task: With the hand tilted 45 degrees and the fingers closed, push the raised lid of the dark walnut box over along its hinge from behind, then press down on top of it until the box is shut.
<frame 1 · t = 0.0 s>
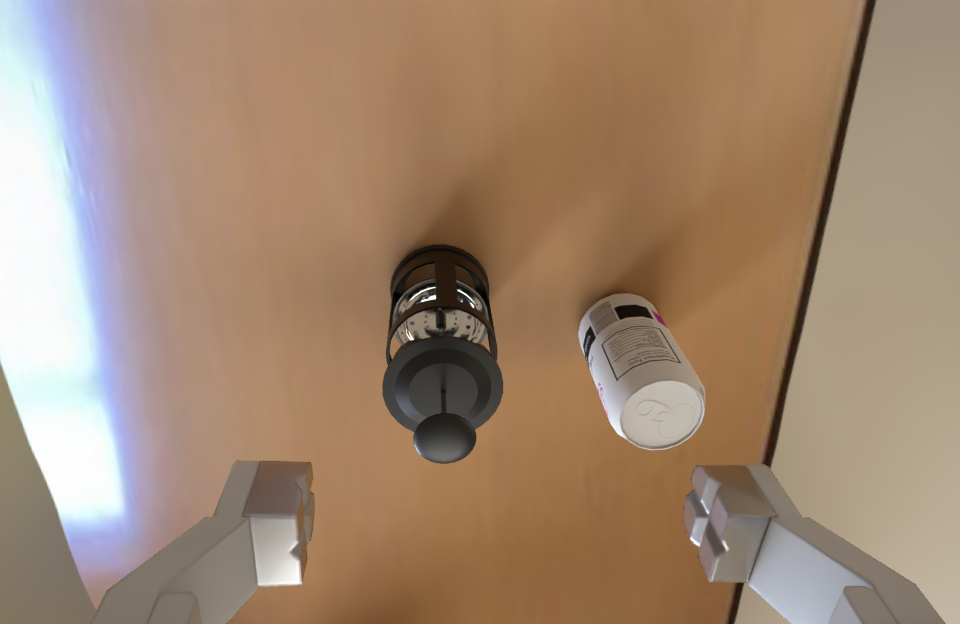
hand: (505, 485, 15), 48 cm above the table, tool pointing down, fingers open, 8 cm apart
supplement can: (617, 325, 69), on the table
french press: (439, 293, 66), on the table
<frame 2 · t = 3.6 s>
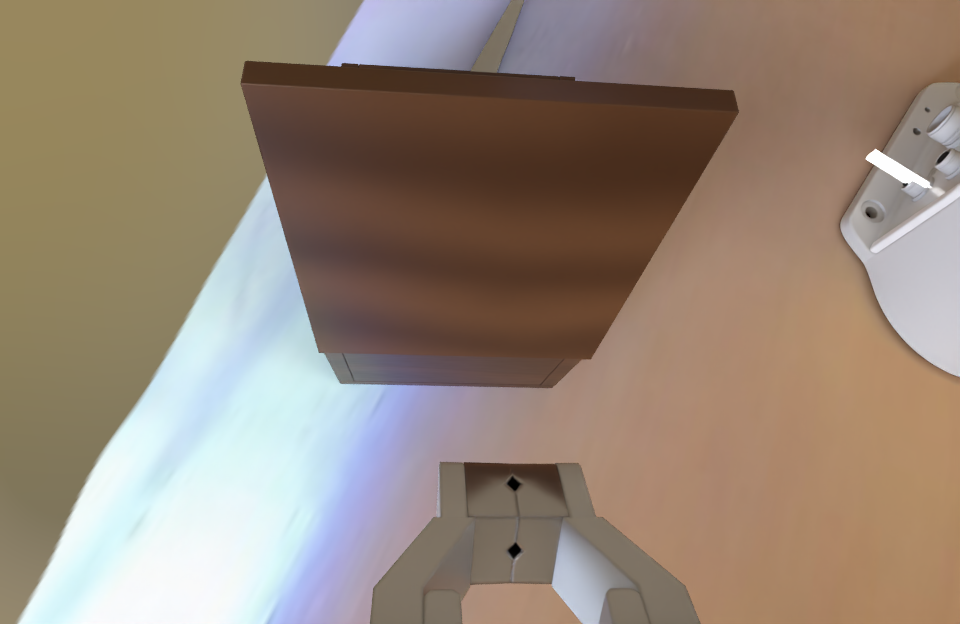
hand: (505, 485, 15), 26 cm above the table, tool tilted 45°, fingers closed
lid: (471, 256, 25), point 18 cm above the table, hinge at 80.0°
box: (449, 263, 44), on the table
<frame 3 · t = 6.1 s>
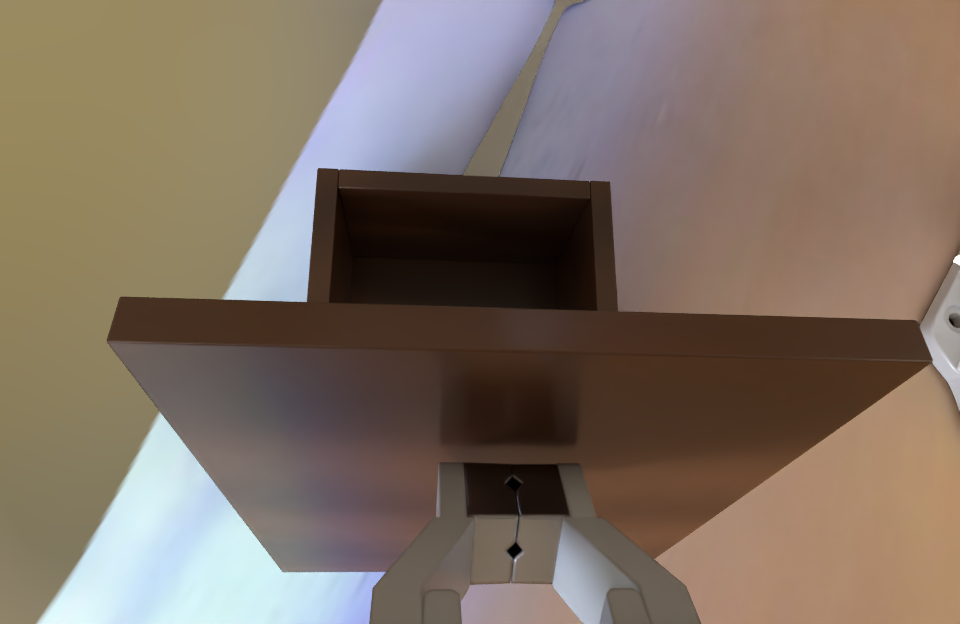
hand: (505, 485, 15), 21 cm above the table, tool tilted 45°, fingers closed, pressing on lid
lid: (487, 490, 18), point 17 cm above the table, hinge at 75.6°, touching gripper
box: (452, 391, 36), on the table
fork: (538, 57, 43), on the table
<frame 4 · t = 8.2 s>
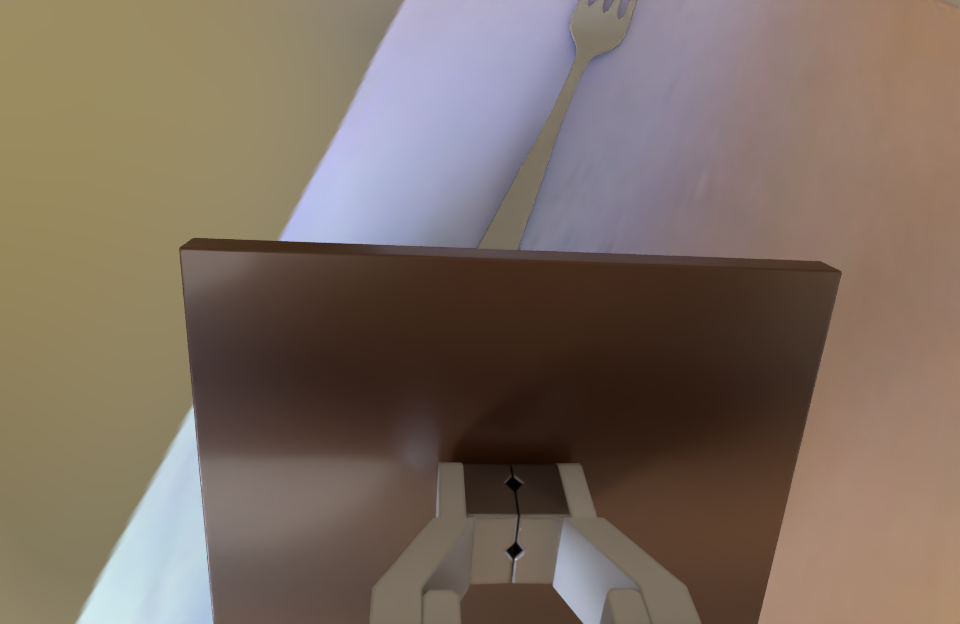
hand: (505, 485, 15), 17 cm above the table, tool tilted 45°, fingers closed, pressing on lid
lid: (495, 595, 16), point 14 cm above the table, hinge at 36.3°, touching gripper
fork: (557, 117, 37), on the table
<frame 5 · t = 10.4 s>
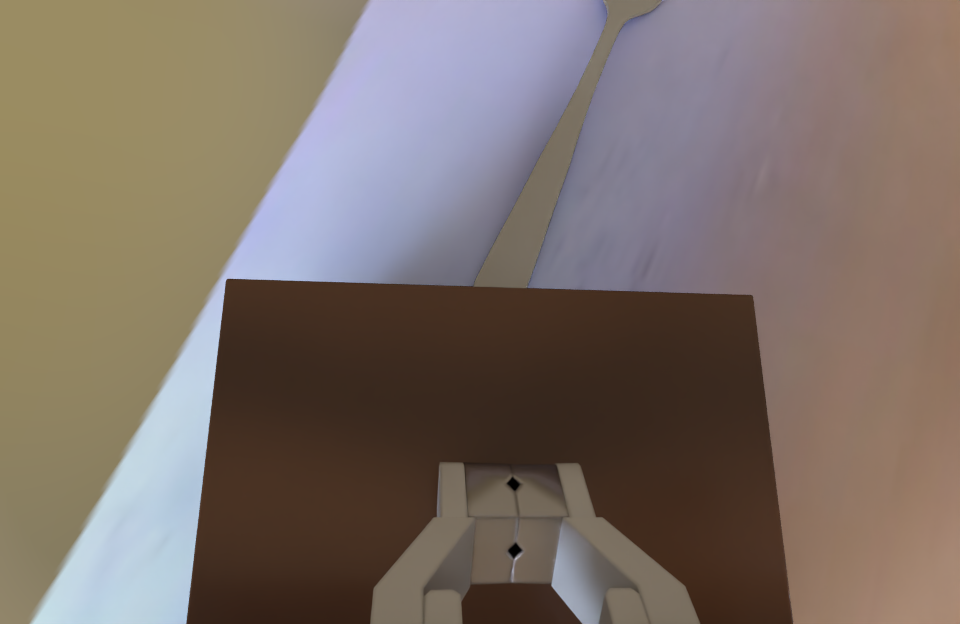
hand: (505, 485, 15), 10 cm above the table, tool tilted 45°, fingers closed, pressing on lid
fork: (584, 93, 30), on the table
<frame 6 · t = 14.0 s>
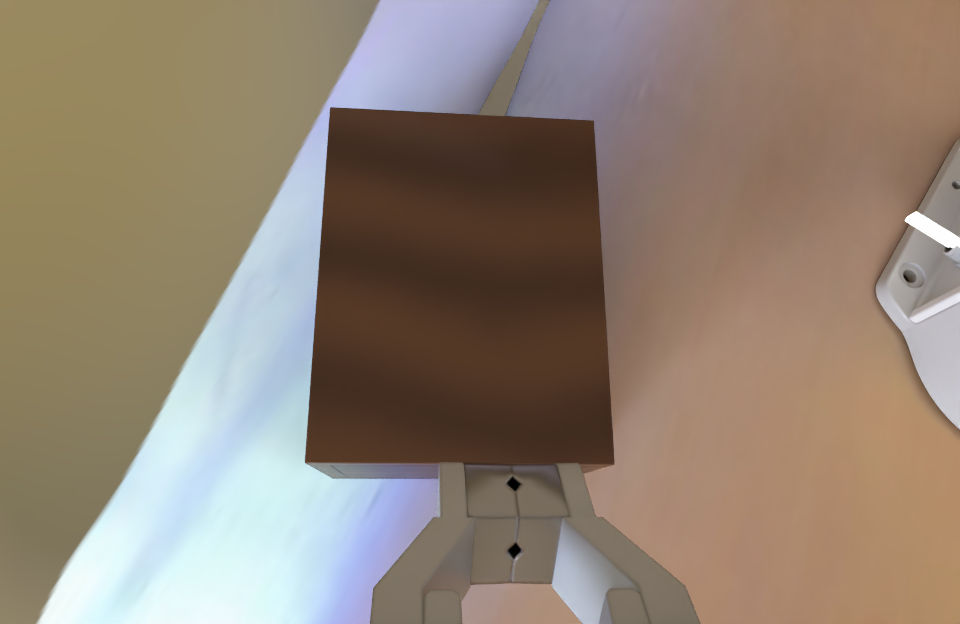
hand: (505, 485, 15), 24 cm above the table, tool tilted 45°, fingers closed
lid: (463, 277, 31), point 9 cm above the table, hinge at 0.0°
box: (451, 339, 40), on the table
fork: (529, 39, 47), on the table
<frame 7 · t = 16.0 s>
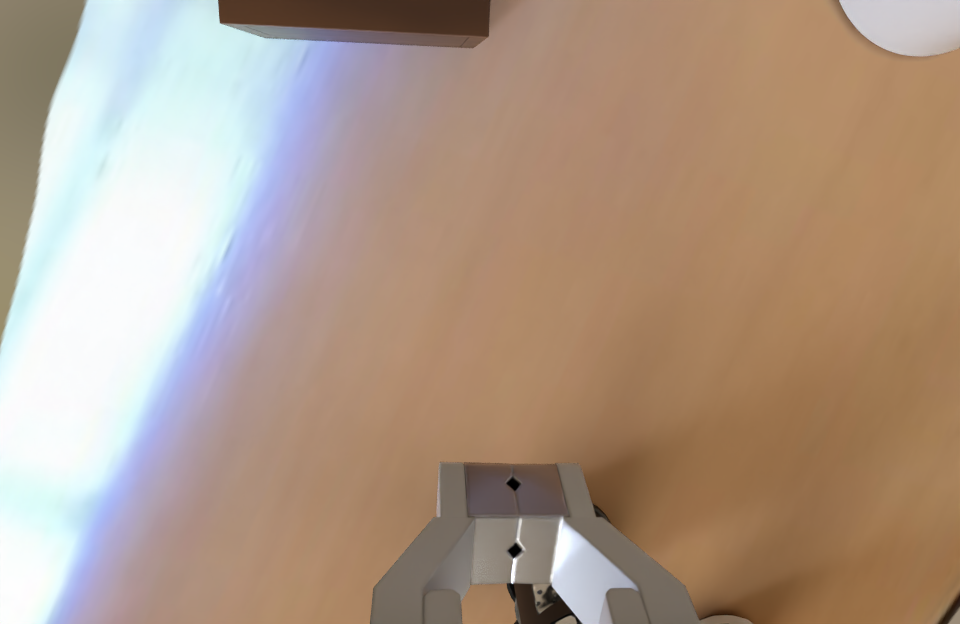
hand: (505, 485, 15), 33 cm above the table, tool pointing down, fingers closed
french press: (552, 548, 55), on the table
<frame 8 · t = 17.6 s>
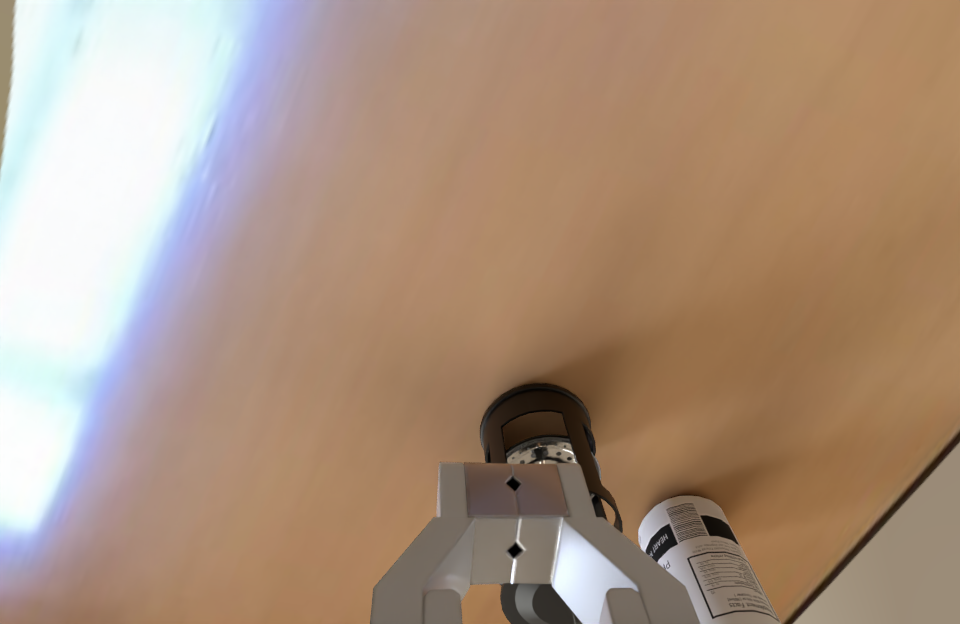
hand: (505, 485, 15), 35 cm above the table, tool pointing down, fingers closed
supplement can: (678, 521, 64), on the table
french press: (531, 432, 58), on the table
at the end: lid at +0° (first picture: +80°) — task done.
